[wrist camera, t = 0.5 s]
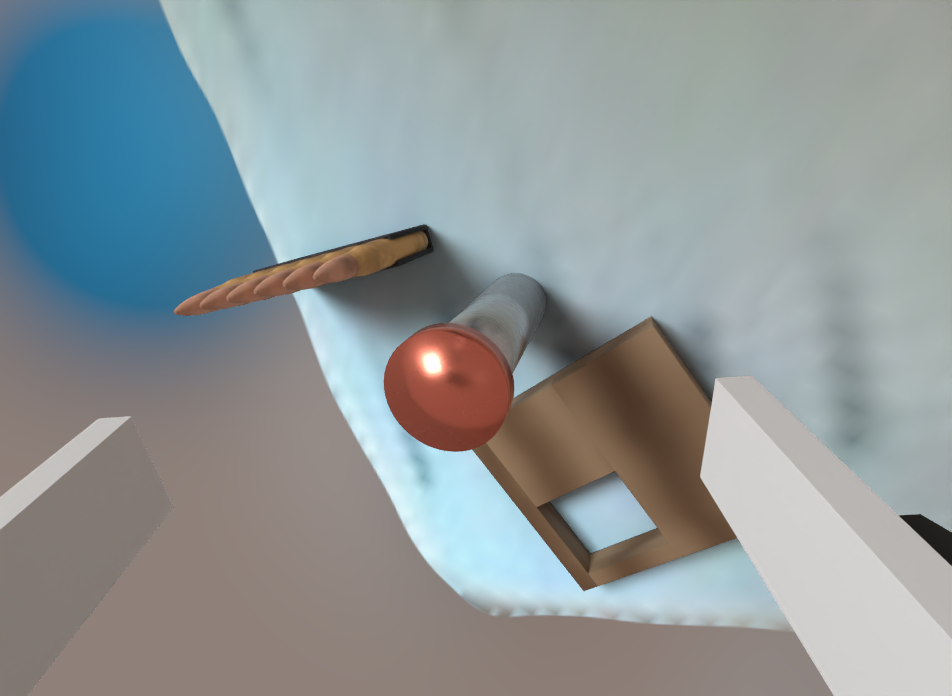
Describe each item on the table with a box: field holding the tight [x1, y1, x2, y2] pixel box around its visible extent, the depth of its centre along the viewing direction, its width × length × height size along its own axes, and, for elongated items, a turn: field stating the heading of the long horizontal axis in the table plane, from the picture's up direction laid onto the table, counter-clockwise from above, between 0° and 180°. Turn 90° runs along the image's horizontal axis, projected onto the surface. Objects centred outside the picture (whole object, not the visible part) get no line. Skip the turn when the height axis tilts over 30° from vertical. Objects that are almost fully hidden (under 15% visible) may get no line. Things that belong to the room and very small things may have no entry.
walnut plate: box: [472, 317, 737, 591], centre depth 33 cm, size 15×15×2 cm
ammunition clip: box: [174, 225, 433, 316], centre depth 28 cm, size 11×2×12 cm, turn 105°
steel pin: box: [384, 273, 546, 452], centre depth 25 cm, size 5×5×14 cm
